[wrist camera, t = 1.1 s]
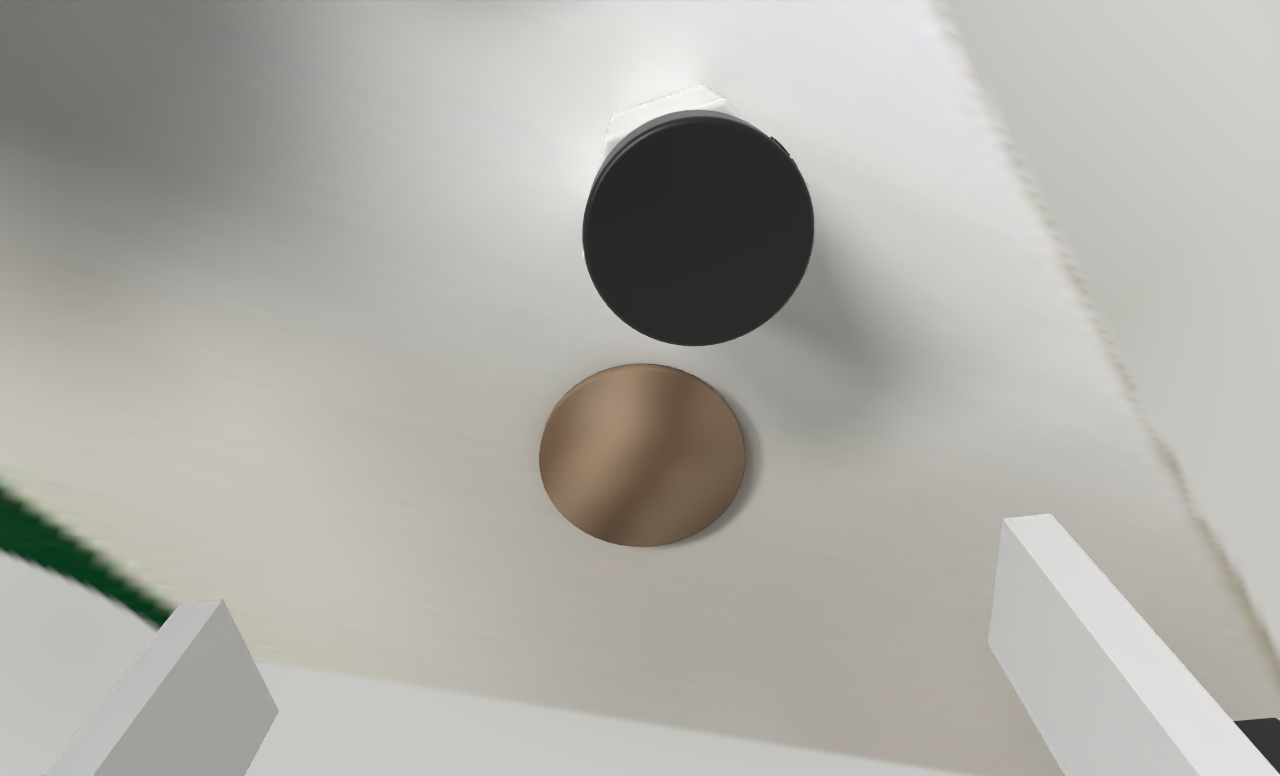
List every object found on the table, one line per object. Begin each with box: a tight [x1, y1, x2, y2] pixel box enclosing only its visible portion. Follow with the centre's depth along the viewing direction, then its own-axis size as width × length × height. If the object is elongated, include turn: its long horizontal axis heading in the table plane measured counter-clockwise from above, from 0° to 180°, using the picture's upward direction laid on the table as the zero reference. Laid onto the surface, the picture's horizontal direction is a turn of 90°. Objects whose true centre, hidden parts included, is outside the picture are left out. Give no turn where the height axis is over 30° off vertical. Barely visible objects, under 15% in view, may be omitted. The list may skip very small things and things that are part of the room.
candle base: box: [539, 364, 745, 547], centre depth 42 cm, size 12×12×1 cm
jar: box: [582, 84, 814, 346], centre depth 30 cm, size 9×8×12 cm
